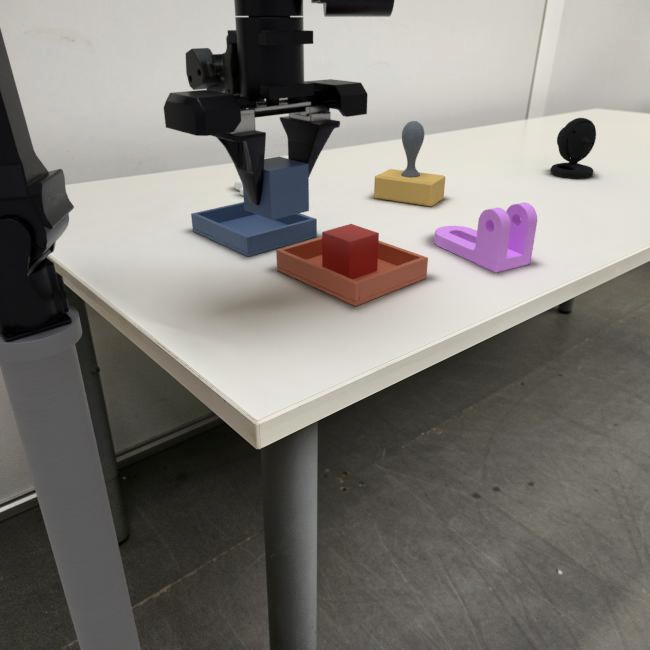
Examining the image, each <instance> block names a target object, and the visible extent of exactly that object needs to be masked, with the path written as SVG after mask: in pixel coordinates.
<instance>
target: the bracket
mask: <svg viewBox="0 0 650 650" xmlns="http://www.w3.org/2000/svg"><path fill="white" fill-rule="evenodd" d="M537 225H538V213H537V211H536V209H535V207H534V206H533V205H532V204H531V203H528V202H519V203H514V204H511V205H509V206H508V207H507V209H506V210H505V209H503V208H502V207H492V208H487V209H485V210H483V211H482V212H481V213H480V215H479V218H478V222H477V228H476V229H477V230H476V229H474V228H472V227H468V226H462V225H443V226H439V227H437V228H436V229H435V230H434V238H433V243H434V244H435V245H436V246H437V247H439V248H441V249H444V250H446V251H448V252H450V253H453V255H456V256H459V257H461V258H463V259H465V260H467V261H469V262H472V263H474V264H476V265H477V266H480V267H482V268H484V269H486V270H489V271H491V272H493V273H495V274H496V273H500V272H504V271H508V270H512V269H516V268H520V267H523V266H527V265H531V262H532V257H533V256H532V255H533V249H534V244H535V238H536V233H537V232H536V231H537Z"/></svg>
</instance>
